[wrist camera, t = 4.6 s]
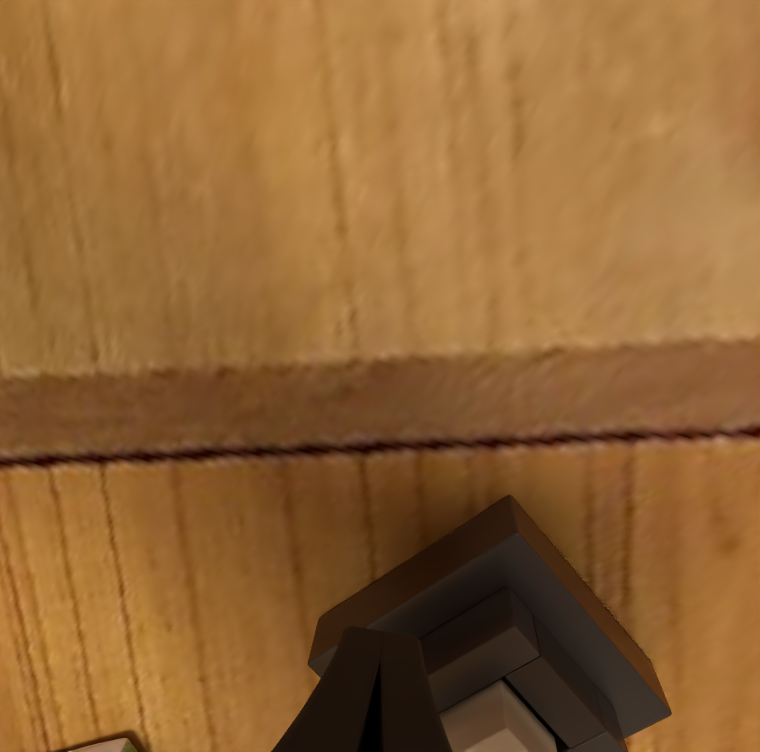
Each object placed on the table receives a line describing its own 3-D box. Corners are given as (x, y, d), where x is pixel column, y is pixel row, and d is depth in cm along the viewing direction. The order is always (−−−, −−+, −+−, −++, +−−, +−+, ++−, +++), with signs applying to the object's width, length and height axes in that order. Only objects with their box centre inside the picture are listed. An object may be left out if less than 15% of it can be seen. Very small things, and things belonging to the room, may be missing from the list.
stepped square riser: (460, 765, 25) (464, 877, 21) (317, 618, 23) (294, 710, 19) (652, 663, 23) (695, 767, 19) (509, 492, 21) (525, 569, 17)
